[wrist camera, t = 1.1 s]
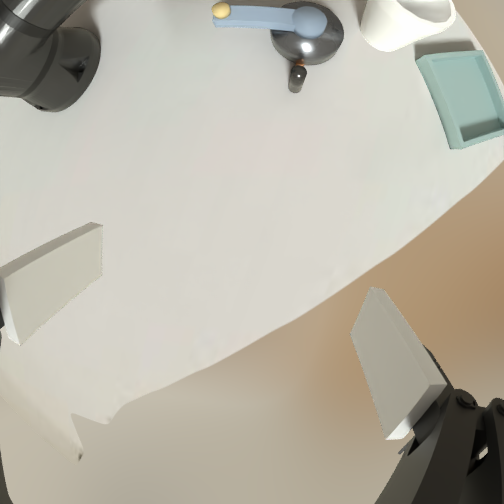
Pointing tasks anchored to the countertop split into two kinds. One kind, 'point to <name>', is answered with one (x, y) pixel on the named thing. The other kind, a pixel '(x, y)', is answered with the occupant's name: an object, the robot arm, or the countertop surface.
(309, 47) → the crank base
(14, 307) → the robot arm
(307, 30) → the crank
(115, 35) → the countertop surface
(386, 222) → the countertop surface
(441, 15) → the foam cup
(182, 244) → the countertop surface
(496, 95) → the tray
